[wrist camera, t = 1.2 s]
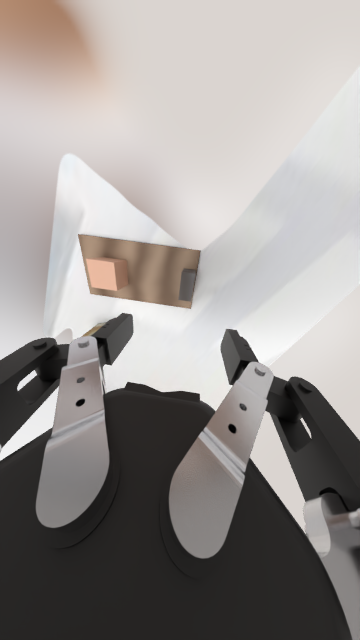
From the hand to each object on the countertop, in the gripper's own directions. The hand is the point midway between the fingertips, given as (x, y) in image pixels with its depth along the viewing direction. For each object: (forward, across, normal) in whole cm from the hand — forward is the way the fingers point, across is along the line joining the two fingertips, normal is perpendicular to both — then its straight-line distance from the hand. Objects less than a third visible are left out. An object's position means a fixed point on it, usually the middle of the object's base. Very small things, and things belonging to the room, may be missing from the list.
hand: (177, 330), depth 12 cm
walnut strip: (+20, +10, 0) cm, 23 cm away
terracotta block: (+19, +16, 0) cm, 25 cm away
